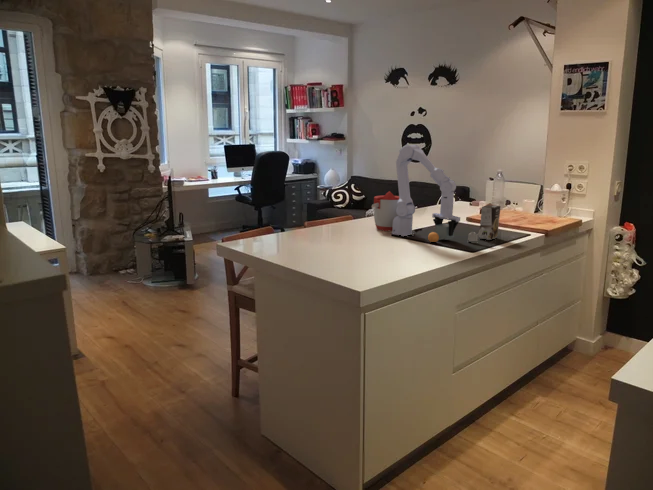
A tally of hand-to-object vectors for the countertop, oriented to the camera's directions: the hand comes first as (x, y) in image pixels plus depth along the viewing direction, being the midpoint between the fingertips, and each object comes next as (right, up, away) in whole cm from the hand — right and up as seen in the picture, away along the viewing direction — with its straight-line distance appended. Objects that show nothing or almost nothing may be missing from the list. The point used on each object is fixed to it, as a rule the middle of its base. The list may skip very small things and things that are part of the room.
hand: (444, 234), depth 244 cm
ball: (-7, -2, -6) cm, 9 cm away
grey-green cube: (0, -1, 0) cm, 2 cm away
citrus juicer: (-25, +3, +25) cm, 35 cm away
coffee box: (+23, -2, +6) cm, 23 cm away
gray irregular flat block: (+13, -5, -5) cm, 15 cm away
